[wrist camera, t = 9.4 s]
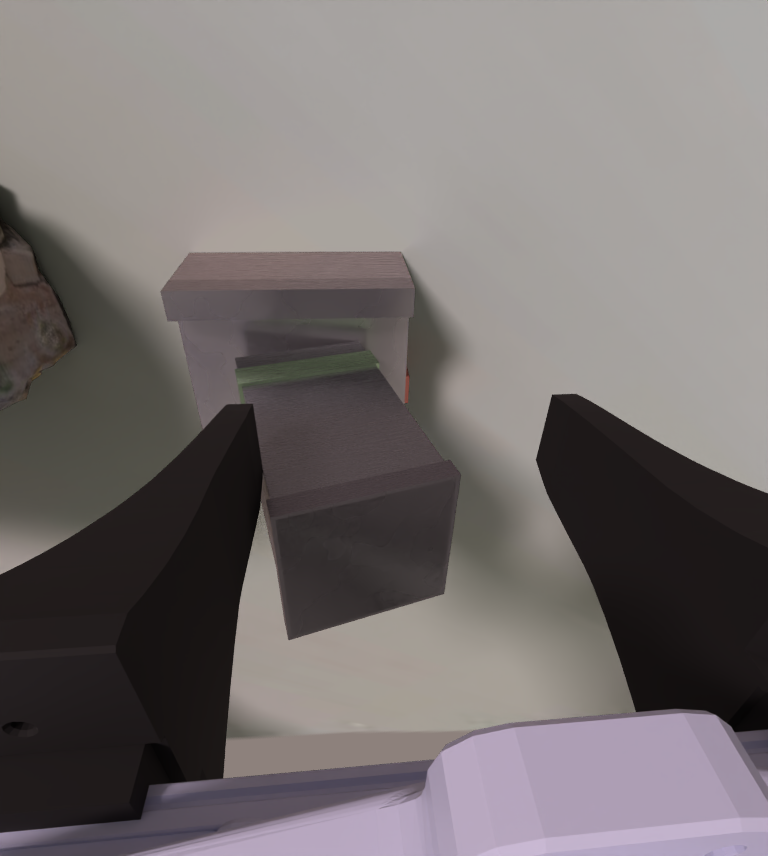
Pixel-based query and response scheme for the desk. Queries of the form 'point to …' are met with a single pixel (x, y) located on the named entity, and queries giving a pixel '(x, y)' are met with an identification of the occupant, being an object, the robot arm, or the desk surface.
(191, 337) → the stand block
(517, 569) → the desk surface
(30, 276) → the fossil rock
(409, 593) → the grey rectangular block
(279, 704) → the desk surface
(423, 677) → the desk surface
